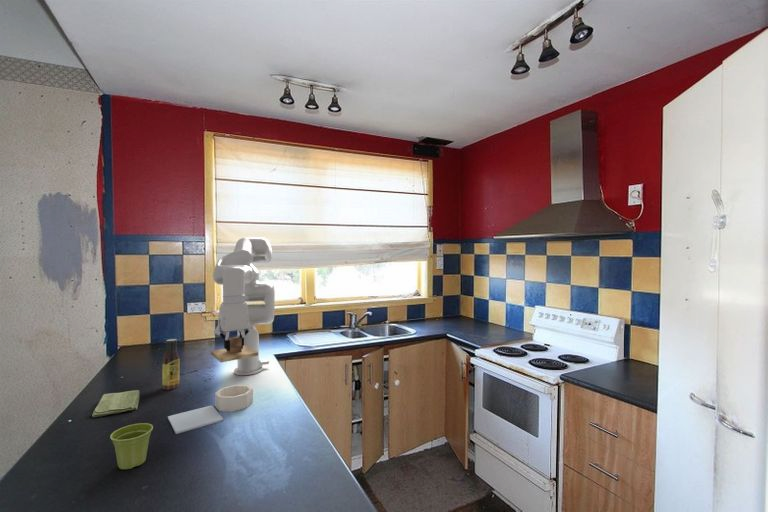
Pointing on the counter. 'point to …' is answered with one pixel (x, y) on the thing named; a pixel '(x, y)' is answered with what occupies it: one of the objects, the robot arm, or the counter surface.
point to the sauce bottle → (170, 366)
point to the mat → (194, 419)
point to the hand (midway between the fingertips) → (234, 348)
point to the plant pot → (131, 444)
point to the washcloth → (117, 403)
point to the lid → (234, 351)
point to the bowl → (233, 398)
